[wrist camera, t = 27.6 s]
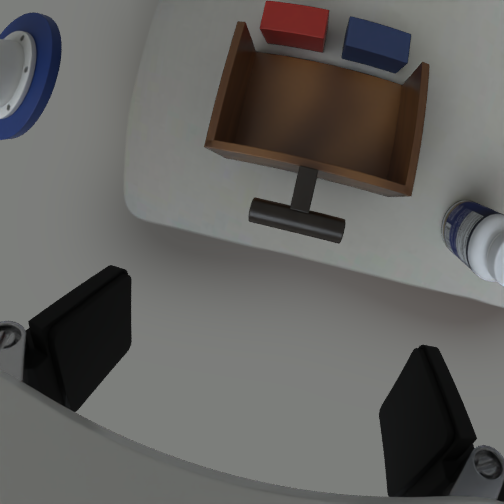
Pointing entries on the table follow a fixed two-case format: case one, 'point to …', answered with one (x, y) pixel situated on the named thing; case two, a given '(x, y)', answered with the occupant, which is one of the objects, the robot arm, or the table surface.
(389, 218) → the table surface
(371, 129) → the drawer
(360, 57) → the block
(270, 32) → the block
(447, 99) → the table surface
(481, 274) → the pill bottle
